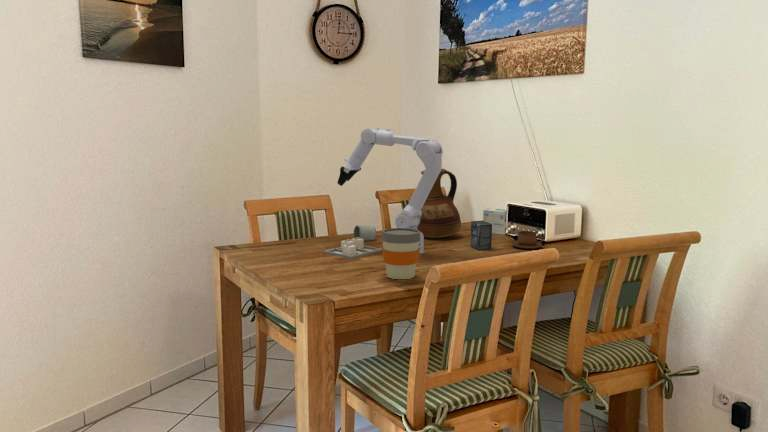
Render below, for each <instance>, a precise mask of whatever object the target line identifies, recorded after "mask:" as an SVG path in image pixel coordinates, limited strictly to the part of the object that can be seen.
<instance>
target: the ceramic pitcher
mask: <svg viewBox="0 0 768 432" xmlns="http://www.w3.org/2000/svg"><path fill="white" fill-rule="evenodd" d="M424 171H425V169H424V170H422V171H420V174H421V175H423V173H424ZM444 175H448V177H449V180H450V189H449V191H448V193H447V195H445V194H444V192H443V190H442V185H441V182H442V181H441V180H442V177H443V176H444ZM457 188H458V181H457V178H456V175H455V174H454V173H452V172H451V171H449V170H447V169H445V168H441V171H440V173H439V175H438V177H437V179H436V181H435V183H434V185H433V187H432V189H431V191H430V193H429V195H428V197H427V199H426V201H425V203H424V205H423V207H422V209H421V211H422V214H421V217H420V223H419V225H418V226H417V230H419V231H420V232H421V233H423V236H424V238H430V239H431V238H432V239H436V238H445V237H450V236H453V235H455V234H457V233H459V232H460V231H461V229H462V228H461V227H462V220H461V214H460V212H459V211H458V208H457V206H456V205H455V204H454V199H455V195H456V192H457Z"/></svg>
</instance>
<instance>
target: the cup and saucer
mask: <svg viewBox="0 0 768 432" xmlns="http://www.w3.org/2000/svg"><path fill="white" fill-rule="evenodd" d="M537 238H540V239H541V240H540V241H539V240H537ZM543 240H544V238H543V236H542V235H538V234H537V232H535V231H529V230H521V231H517V240H512V241H511V244H512V246H513V247H516V248H518V249H524V250H533V249H538V248H541V247H542V246H543Z"/></svg>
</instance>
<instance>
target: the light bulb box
mask: <svg viewBox="0 0 768 432" xmlns="http://www.w3.org/2000/svg"><path fill="white" fill-rule="evenodd" d="M507 210H508V209H502V208H501V209H500V208H491V207H489V208H485V209H483V213H482V214H483V215H482V217H483V218H482V221H485V222H488V223H491V224H492V235H502V236H503V235H507V234H506V215H507Z"/></svg>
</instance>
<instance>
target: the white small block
mask: <svg viewBox="0 0 768 432" xmlns="http://www.w3.org/2000/svg"><path fill="white" fill-rule="evenodd" d="M350 241H354V246H356V248H359V249H362V248H364V246H365V244H364V242H365V241H364V239H360V237H357V238H354V237H353V238H351V239H350Z"/></svg>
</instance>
